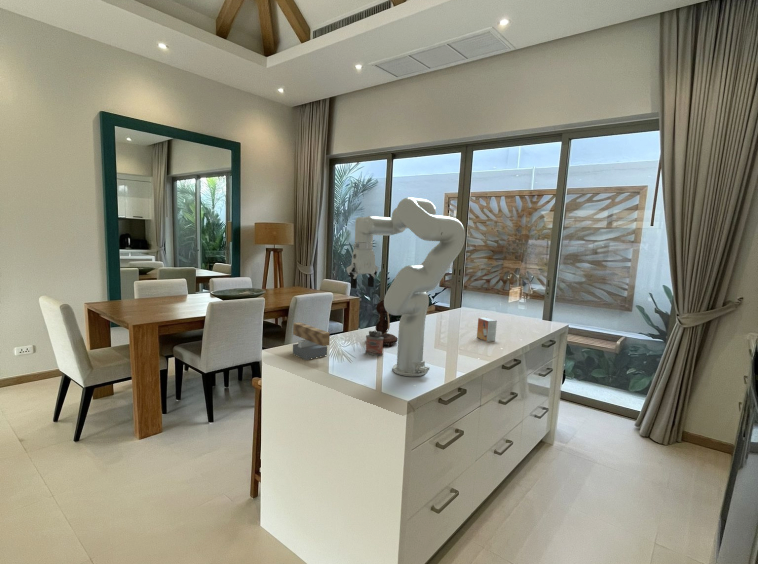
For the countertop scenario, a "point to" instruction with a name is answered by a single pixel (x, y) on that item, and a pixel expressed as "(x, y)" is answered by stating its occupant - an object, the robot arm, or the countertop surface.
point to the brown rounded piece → (384, 325)
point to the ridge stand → (309, 349)
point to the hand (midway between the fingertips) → (362, 287)
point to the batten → (311, 334)
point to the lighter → (374, 343)
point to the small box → (486, 329)
